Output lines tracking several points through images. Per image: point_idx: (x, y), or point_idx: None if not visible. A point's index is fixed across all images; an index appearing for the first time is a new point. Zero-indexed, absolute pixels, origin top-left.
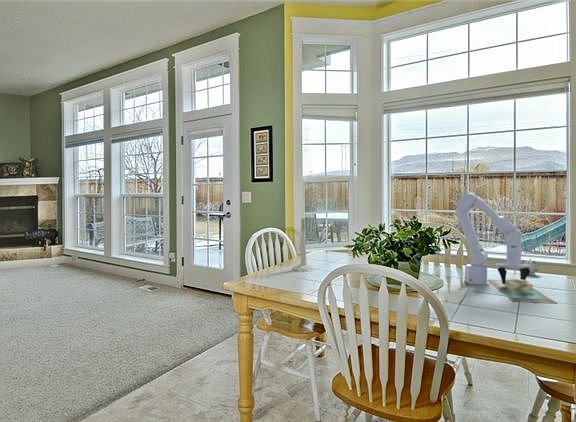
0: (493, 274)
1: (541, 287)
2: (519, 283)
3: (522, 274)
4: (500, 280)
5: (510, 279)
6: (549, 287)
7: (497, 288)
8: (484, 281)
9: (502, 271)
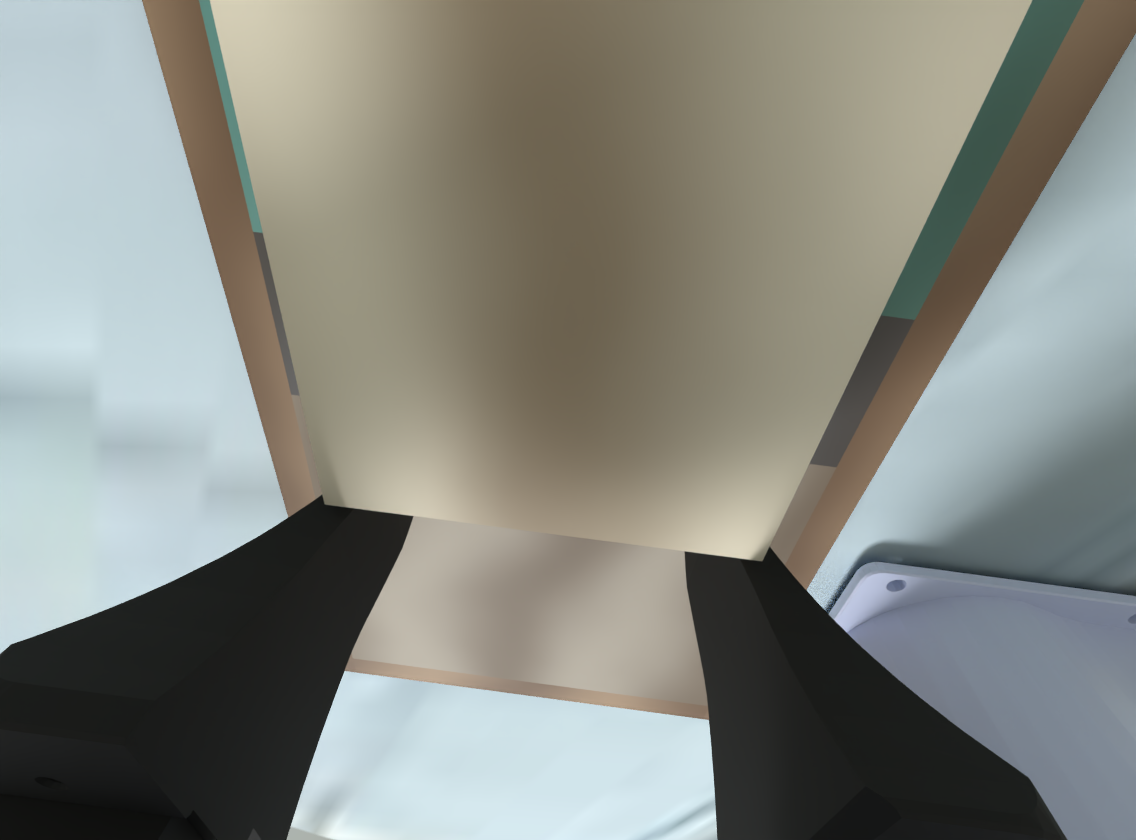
0: (527, 806)
1: (125, 438)
2: (684, 33)
3: (301, 649)
4: (573, 685)
5: (665, 517)
6: (13, 436)
7: (923, 374)
8: (952, 626)
9: (1011, 786)
